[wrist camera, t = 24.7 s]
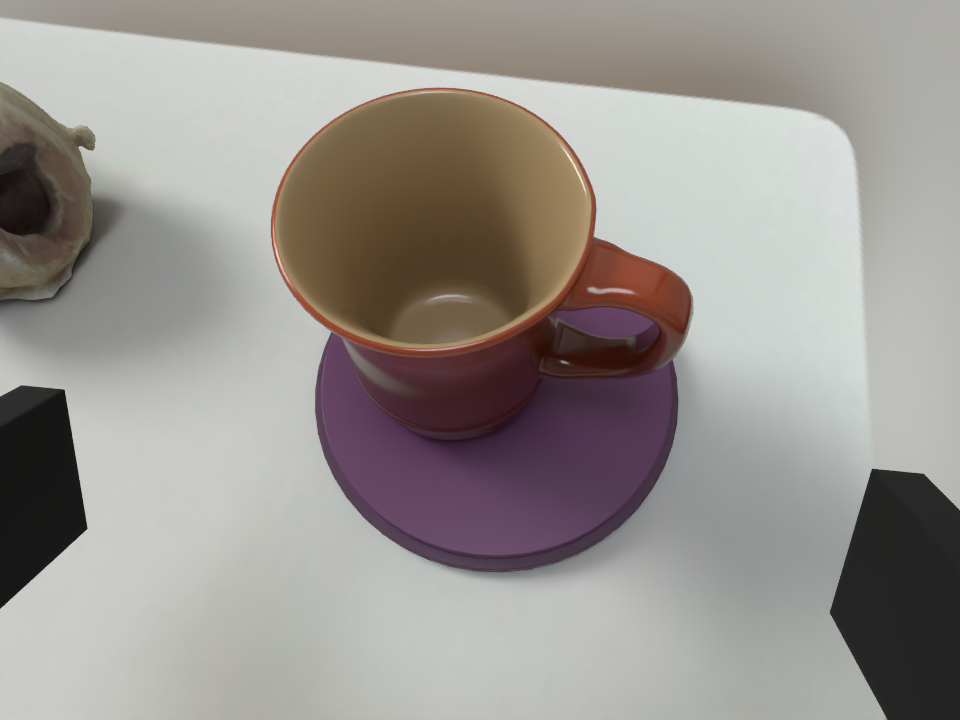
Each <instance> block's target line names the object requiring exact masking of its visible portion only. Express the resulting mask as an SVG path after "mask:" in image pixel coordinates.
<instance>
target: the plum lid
mask: <svg viewBox="0 0 960 720" xmlns="http://www.w3.org/2000/svg"><path fill="white" fill-rule="evenodd" d="M557 314H558V316H559V318H560V319H562V320H563V321H565V322H566V323H568V324H570V325H572V326H574V327H576V328H579V329H581V330H583V331H585V332H588V333H590V334H593V335H597V336H602V337H612V338H618V337H628V336H632V335H636V334H638V333H641V332H643V331H645V330H647V329H648V328H649V327H650V326H651V325H652V324H653V323H654V322H653V321H651V320H650V319H648V318H646V317H644V316H642V315H639V314H637V313H634V312H631V311H628V310H623V309H619V308H611V307H599V308H590V309H583V310H576V311H557ZM315 413H316V421H317V428H318V435H319V438H320V442H321V445H322V449H323V452H324V456H325V458H326V460H327V463H328V465H329V467H330V469H331V472H332V474H333V476H334V478H335V480H336V481H337V483H338V484H339V486H340V487H341V489H342V491H343V492H344V494H345V495H346V497H347V498H348V499H349V501H350V502H351V503H352V504H353V505H354V506H355V508H356V509H357V510H358V511H359V512H360V514H361V515H362V516H363V517H364V518H365V519H366V520H367V521H368V522H369V523H371V524H372V525H373V526H374V527H375V528H376V529H377V530H379V531H380V532H381V533H382V534H383V535H385V536H386V537H388V538H389V539H391V540H392V541H394V542H395V543H397V544H398V545H400V546H401V547H403V548H405V549H407V550H409V551H411V552H413V553H415V554H417V555H419V556H421V557H424V558H426V559H429V560H432V561H435V562H438V563H441V564H444V565H447V566H450V567H456V568H462V569H467V570H473V571H488V572H508V571H518V570H528V569H533V568H537V567H541V566H545V565H549V564H554V563H556V562H559V561H561V560H564V559H566V558H569V557H572V556H574V555H577V554H579V553H581V552H582V551H584V550H586V549H588V548H590V547H591V546H593V545H595V544H597V543H599V542H600V541H601V540H603V539H604V538H605V537H607V536H608V535H609V534H611V533H612V532H613V531H615V530H616V529H617V528H619V527H620V526H621V525H622V524H623V523H624V522H625V521H626V520H627V519H628V518H629V517H630V516H631V515H632V514H633V513H634V512H635V511H636V510H637V509H638V507H639V506H640V505H641V503H642V502H643V501H644V499H645V498H646V497H647V495H648V494H649V493H650V491H651V490H652V488H653V487H654V485H655V483H656V481H657V480H658V478H659V476H660V474H661V472H662V470H663V468H664V466H665V464H666V461H667V458H668V455H669V453H670V450H671V447H672V444H673V439H674V434H675V430H676V425H677V414H678V390H677V378H676V373H675V369H674V365H673V360H671V361H670V362H669V363H667V364H666V365H665V366H663V367H662V368H660V369H659V370H657V371H655V372H653V373H650V374H648V375H645V376H641V377H637V378H631V379H621V380H604V379H586V380H557V379H551V378H543V379H542V381H541V383H540V385H539V387H538V389H537V391H536V393H535V394H534V396H533V398H532V399H531V401H530V402H529V403H528V405H527V406H526V407H525V408H524V409H523V410H522V411H521V412H520V413H519V414H518V415H516V416H515V417H514V418H513V419H511V420H510V421H509V422H507V423H506V424H504V425H502V426H501V427H499V428H497V429H495V430H493V431H491V432H489V433H487V434H484V435H481V436H478V437H474V438H469V439H463V440H439V439H433V438H428V437H425V436H421V435H419V434H416V433H414V432H412V431H410V430H408V429H406V428H404V427H403V426H401V425H399V424H398V423H397V422H395V421H394V420H393V419H392V418H391V417H390V416H388V415H387V414H386V413H385V412H383V411H382V410H381V409H380V408H379V407H378V406H377V405H376V404H374V403H373V402H372V400H371V399H370V398H369V397H368V396H367V394H366V393H365V391H364V390H363V388H362V387H361V385H360V383H359V381H358V379H357V377H356V374H355V372H354V369H353V365H352V363H351V360H350V358H349V356H348V353H347V351H346V348H345V346H344V343H343V340H342V338H341V337H340V336H338V335H337V334H335V333H333V332H331V335H330V337H329V339H328V341H327V344H326V346H325V348H324V352H323V355H322V359H321V362H320V365H319V369H318V376H317V383H316V389H315Z"/></svg>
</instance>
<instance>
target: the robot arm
mask: <svg viewBox="0 0 960 720" xmlns="http://www.w3.org/2000/svg"><path fill="white" fill-rule="evenodd" d="M86 530H87V523H86V516H85V510H84V504H83V498H82V492H81V486H80V480H79V474H78V468H77V462H76V456H75V450H74V444H73V438H72V432H71V426H70V420H69V414H68V408H67V402H66V396H65V390H63V389H52V388H42V387H32V386H22V385H21V386H19V387H18V388H16V389H14V390H12V391H10V392H8V393H6V394H4V395H3V396H1V397H0V608H2V607H3V606H4V605H5V604H6V603H7V602H8V601H9V600H10V599H11V598H12V597H14V596H15V595H16V594H17V593H18V592H19V591H20V590H21V589H22V588H23V587H24V586H26V585H27V584H28V583H29V582H30V581H31V580H32V579H33V578H34V577H35V576H37V575H38V574H39V573H40V572H41V571H42V570H43V569H44V568H45V567H46V566H47V565H49V564H50V563H51V562H52V561H53V560H54V559H55V558H56V557H57V556H58V555H59V554H61V553H62V552H63V551H64V550H65V549H66V548H67V547H68V546H69V545H70V544H71V543H73V542H74V541H75V540H76V539H77V538H78V537H79V536H80V535H81V534H82V533H83V532H85V531H86ZM830 614H831V616H832V618H833V619H834V621H835V623H836V625H837V627H838V629H839V631H840V632H841V634H842V636H843V638H844V640H845V642H846V644H847V645H848V647H849V649H850V651H851V653H852V655H853V657H854V658H855V660H856V662H857V664H858V666H859V668H860V669H861V671H862V673H863V675H864V677H865V679H866V681H867V682H868V684H869V686H870V688H871V690H872V692H873V694H874V695H875V697H876V699H877V701H878V703H879V705H880V707H881V708H882V710H883V712H884V714H885V716H886V718H887V720H960V510H959V509H958V508H957V507H956V506H955V505H954V504H953V503H952V502H951V501H950V500H949V499H948V498H947V497H946V496H945V495H944V494H943V493H942V492H941V491H940V490H939V489H938V488H937V487H936V486H935V485H934V484H933V483H932V482H931V481H930V480H929V479H928V478H927V477H926V476H925V475H924V474H919V473H908V472H899V471H889V470H878V469H872V471H871V474H870V477H869V481H868V484H867V488H866V491H865V494H864V498H863V501H862V505H861V508H860V511H859V515H858V518H857V522H856V525H855V529H854V532H853V535H852V539H851V542H850V546H849V549H848V552H847V556H846V559H845V563H844V566H843V569H842V573H841V576H840V580H839V583H838V586H837V590H836V593H835V597H834V600H833V603H832V607H831V610H830Z"/></svg>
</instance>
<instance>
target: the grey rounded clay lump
mask: <svg viewBox="0 0 960 720" xmlns="http://www.w3.org/2000/svg"><path fill="white" fill-rule="evenodd" d="M79 146H83V147H84V148H86V149H87V150H94V148H95V135H94V134H93V133H92V131H91V130H90V129H89V128H88V127H86V126H81V125H80V126H77V127H74V128H67V127H66V126H64V125H62V124H60V123H58V122H57V121H55V120H54V119H53V118H52V117H50V116H49V115H48V114H47V113H46V112H45V111H44V110H43V109H41V108H40V107H39V106H38V105H36V104H35V103H34V102H33V101H31V100H30V99H28V98H27V97H26V96H24V95H23V94H21V93H20V92H18V91H17V90H15V89H13V88H12V87H10V86H8V85H6V84H4V83H2V82H0V301H1V300H5V299H25V300H37V299H44V298H52V297H53V296H54V295H55V293H56V292H57V291H58V289H59V287H61V286H62V285H63V284H64V283H66V282H67V281H68V280H69V279H70V278H71V277H72V271H71V270H72V268H73V265H74V263H75V261H76V259H77V257H78V255H79V254H80V252H81V250H82V249H83V248H84V247H85V246H86V244H87V243H88V242H89V241H90V238H91V228H92V221H93V203H92V196H91V191H90V188H91V179H90V177H89V175H88V173H87V171H86V169H85V166H84V163H83V159H82V155H81V152H80V150H79V148H78V147H79Z"/></svg>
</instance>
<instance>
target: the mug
mask: <svg viewBox="0 0 960 720" xmlns="http://www.w3.org/2000/svg"><path fill="white" fill-rule="evenodd" d="M595 221H596V199H595V195H594V191H593V188H592V186H591V183H590V180H589V178H588V176H587V173H586V171H585V169H584V167H583V165H582V164H581V162H580V160H579V158H578V157H577V155H576V154H575V152H574V150H573V149H572V148H571V147H570V145H569V144H568V143H567V142H566V140H565V139H564V138H563V137H562V136H561V135H560V134H559V133H558V132H557V131H556V130H555V129H554V128H553V127H551V126H550V125H549V124H548V123H547V122H545V121H544V120H542V119H541V118H540V117H538V116H537V115H535V114H534V113H532V112H530V111H529V110H527V109H525V108H523V107H521V106H519V105H517V104H515V103H513V102H511V101H508V100H505V99H503V98H500V97H497V96H494V95H490V94H486V93H482V92H477V91H472V90H465V89H457V88H424V89H414V90H408V91H402V92H397V93H393V94H389V95H385V96H382V97H379V98H376V99H373V100H371V101H368V102H366V103H363V104H361V105H359V106H357V107H355V108H353V109H351V110H349V111H347V112H345V113H343V114H342V115H340V116H339V117H337V118H335V119H334V120H332V121H331V122H330V123H328V124H327V125H326V126H324V127H323V128H322V129H321V130H320V131H318V132H317V133H316V134H315V135H314V136H313V137H312V138H311V139H310V140H309V141H308V142H307V143H306V144H305V145H304V146H303V147H302V148H301V150H300V151H299V152H298V154H297V155H296V156H295V157H294V159H293V160H292V162H291V164H290V165H289V167H288V168H287V170H286V172H285V174H284V176H283V178H282V180H281V182H280V185H279V187H278V190H277V193H276V196H275V200H274V204H273V210H272V217H271V237H272V246H273V251H274V255H275V260H276V263H277V265H278V268H279V271H280V273H281V275H282V277H283V279H284V281H285V283H286V285H287V287H288V288H289V290H290V291H291V293H292V294H293V296H294V297H295V298H296V300H297V301H298V302H299V303H300V304H301V306H302V307H303V308H304V309H305V310H306V311H307V312H308V313H309V314H310V315H311V316H312V317H313V318H314V319H315V320H317V321H318V322H319V323H321V324H322V325H323V326H325V327H326V328H327V329H329V330H330V331H332V332H333V333H335V334H337V335H338V336H340V337H341V338H342V340H343V343H344V346H345V348H346V351H347V353H348V356H349V358H350V360H351V363H352V365H353V369H354V372H355V374H356V377H357V379H358V381H359V383H360V385H361V387H362V388H363V390H364V391H365V393H366V394H367V396H368V397H369V398H370V399H371V400H372V402H373V403H374V404H376V405H377V406H378V407H379V408H380V409H381V410H382V411H383V412H385V413H386V414H387V415H388V416H390V417H391V418H392V419H393V420H394V421H395V422H397V423H398V424H399V425H401V426H403V427H404V428H406V429H408V430H410V431H412V432H414V433H416V434H419V435H421V436H425V437H428V438H433V439H439V440H463V439H469V438H474V437H478V436H481V435H484V434H487V433H489V432H491V431H493V430H495V429H497V428H499V427H501V426H502V425H504V424H506V423H507V422H509V421H510V420H511V419H513V418H514V417H515V416H516V415H518V414H519V413H520V412H521V411H522V410H523V409H524V408H525V407H526V406H527V405H528V403H529V402H530V401H531V399H532V398H533V396H534V394H535V393H536V391H537V389H538V387H539V385H540V383H541V381H542V379H543V378H551V379H557V380H586V379H604V380H621V379H631V378H637V377H641V376H645V375H648V374H650V373H653V372H655V371H657V370H659V369H660V368H662V367H663V366H665V365H666V364H667V363H669V362H670V361H671V360H672V359H673V358H674V357H675V356H676V355H677V353H678V352H679V351H680V349H681V347H682V346H683V344H684V342H685V340H686V338H687V335H688V331H689V328H690V324H691V320H692V316H693V296H692V294H691V291H690V289H689V287H688V285H687V284H686V283H685V281H684V280H683V279H682V278H681V277H679V276H678V275H677V274H676V273H674V272H673V271H671V270H669V269H668V268H666V267H664V266H662V265H660V264H658V263H655V262H653V261H650V260H647V259H644V258H641V257H638V256H636V255H633V254H630V253H628V252H626V251H624V250H622V249H621V248H619V247H617V246H616V245H614V244H612V243H609V242H606V241H604V240H601V239H598V238H596V237H594V230H595ZM599 307H611V308H619V309H623V310H628V311H631V312H634V313H637V314H639V315H642V316H644V317H646V318H648V319H650V320H651V321H653V322H654V323H653V324H652V325H651V326H650V327H649V328H648V329H647V330H645V331H643V332H641V333H638V334H636V335H632V336H628V337H618V338H612V337H602V336H597V335H593V334H590V333H588V332H585V331H583V330H581V329H579V328H576V327H574V326H572V325H570V324H568V323H566V322H565V321H563V320H562V319H560V318H559V316H558V314H557V311H576V310H583V309H590V308H599Z"/></svg>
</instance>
